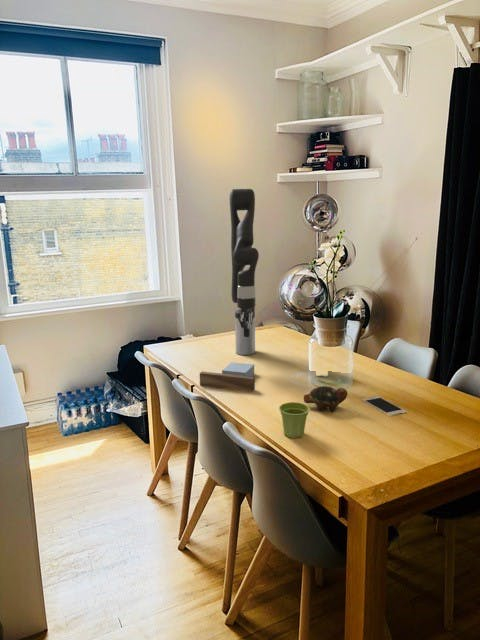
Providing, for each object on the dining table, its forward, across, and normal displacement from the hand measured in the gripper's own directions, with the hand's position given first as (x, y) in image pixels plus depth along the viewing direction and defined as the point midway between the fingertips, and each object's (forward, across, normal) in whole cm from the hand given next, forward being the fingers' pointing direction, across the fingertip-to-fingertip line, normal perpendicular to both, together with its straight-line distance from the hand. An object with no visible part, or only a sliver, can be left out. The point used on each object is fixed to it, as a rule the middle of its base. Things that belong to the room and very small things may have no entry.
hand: (246, 336), depth 219 cm
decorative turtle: (+15, +31, +40) cm, 53 cm away
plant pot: (+16, +54, +35) cm, 66 cm away
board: (+15, +23, 0) cm, 27 cm away
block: (+15, +10, 0) cm, 18 cm away
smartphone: (+16, +23, +59) cm, 65 cm away
